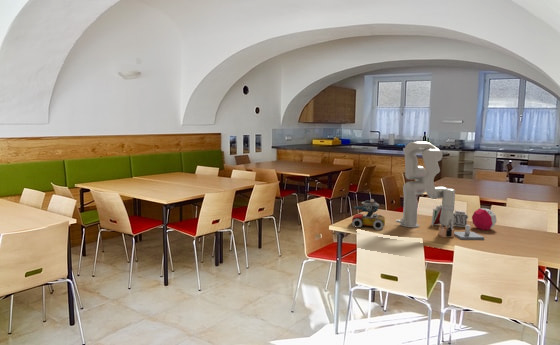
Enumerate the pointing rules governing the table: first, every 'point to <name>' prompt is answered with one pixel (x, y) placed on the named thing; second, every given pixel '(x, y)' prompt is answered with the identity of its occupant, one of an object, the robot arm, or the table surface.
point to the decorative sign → (459, 217)
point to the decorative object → (484, 219)
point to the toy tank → (369, 216)
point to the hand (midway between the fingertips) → (446, 234)
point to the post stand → (468, 234)
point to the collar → (443, 232)
